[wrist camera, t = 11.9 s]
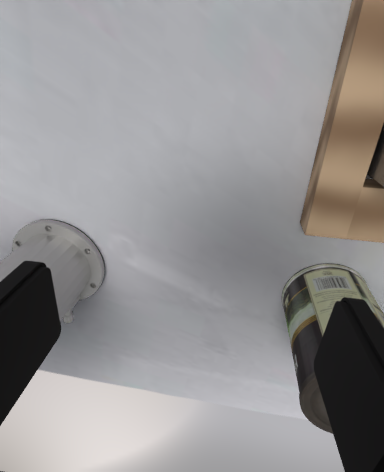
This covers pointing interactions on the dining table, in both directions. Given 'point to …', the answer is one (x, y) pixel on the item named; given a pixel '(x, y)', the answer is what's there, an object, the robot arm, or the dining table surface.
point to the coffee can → (318, 324)
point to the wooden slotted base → (351, 136)
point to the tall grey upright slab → (378, 160)
